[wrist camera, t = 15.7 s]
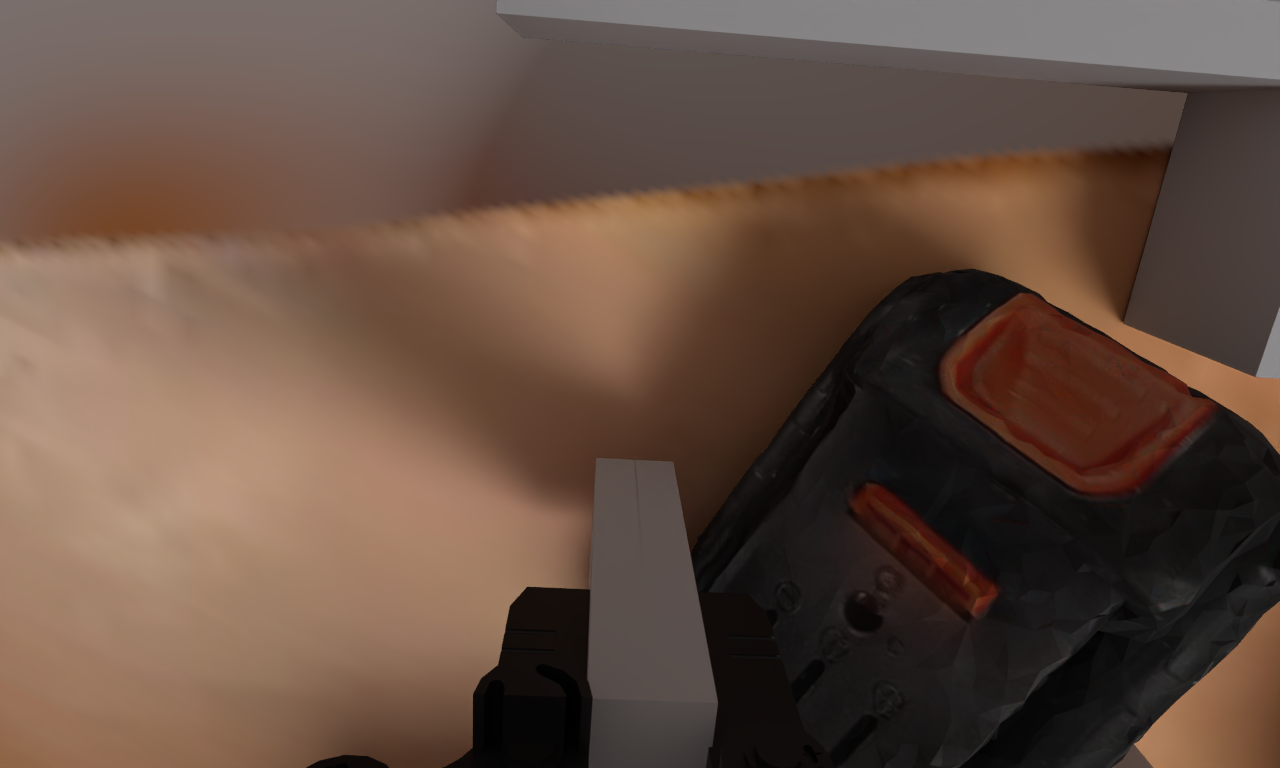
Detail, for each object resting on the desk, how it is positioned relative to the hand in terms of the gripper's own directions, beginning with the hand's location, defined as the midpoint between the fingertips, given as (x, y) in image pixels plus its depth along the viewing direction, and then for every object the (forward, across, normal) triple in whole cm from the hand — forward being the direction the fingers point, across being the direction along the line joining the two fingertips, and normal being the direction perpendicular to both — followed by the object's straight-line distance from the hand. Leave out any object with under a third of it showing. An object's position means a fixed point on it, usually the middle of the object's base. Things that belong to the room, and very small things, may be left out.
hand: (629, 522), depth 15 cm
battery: (+2, +5, 0) cm, 5 cm away
